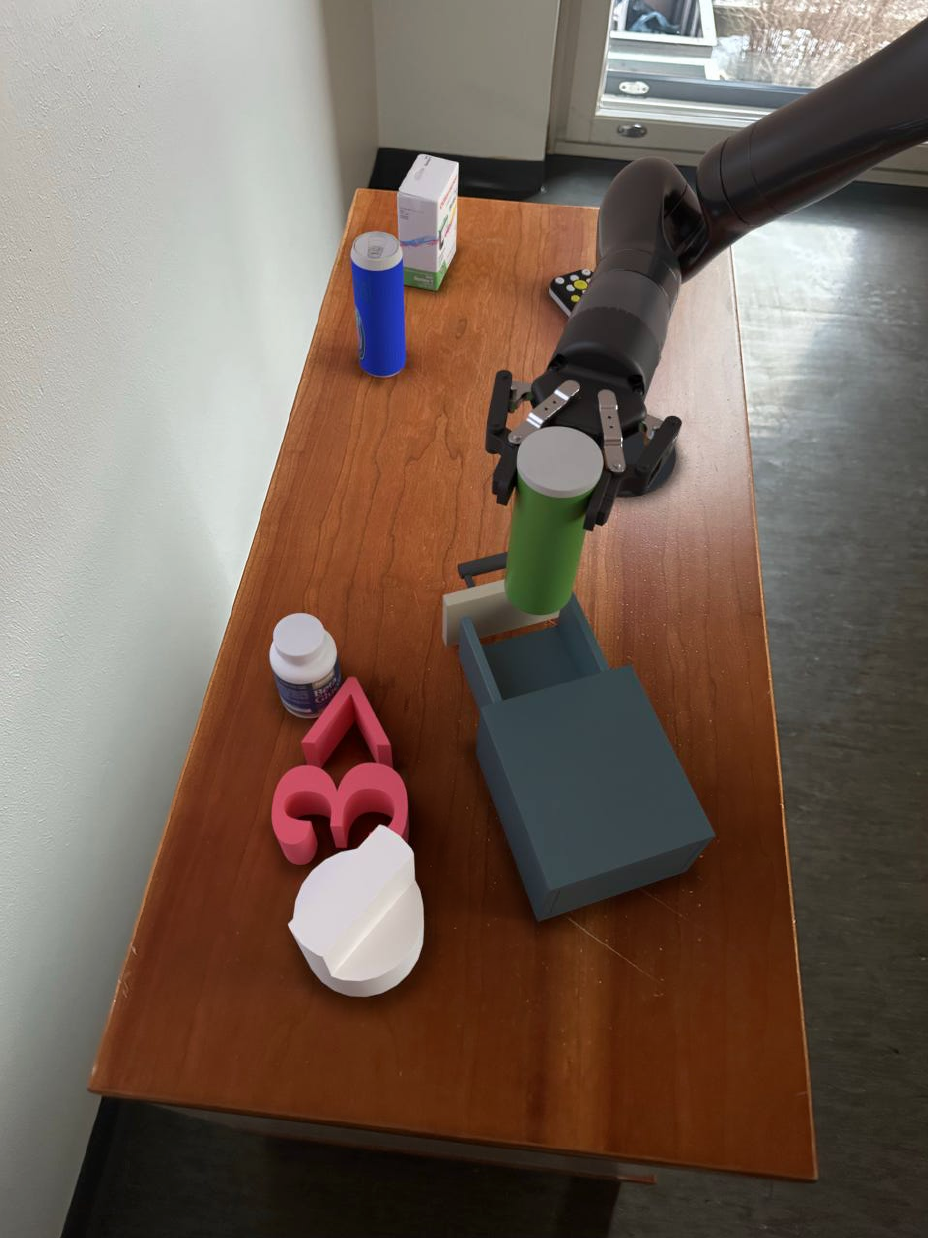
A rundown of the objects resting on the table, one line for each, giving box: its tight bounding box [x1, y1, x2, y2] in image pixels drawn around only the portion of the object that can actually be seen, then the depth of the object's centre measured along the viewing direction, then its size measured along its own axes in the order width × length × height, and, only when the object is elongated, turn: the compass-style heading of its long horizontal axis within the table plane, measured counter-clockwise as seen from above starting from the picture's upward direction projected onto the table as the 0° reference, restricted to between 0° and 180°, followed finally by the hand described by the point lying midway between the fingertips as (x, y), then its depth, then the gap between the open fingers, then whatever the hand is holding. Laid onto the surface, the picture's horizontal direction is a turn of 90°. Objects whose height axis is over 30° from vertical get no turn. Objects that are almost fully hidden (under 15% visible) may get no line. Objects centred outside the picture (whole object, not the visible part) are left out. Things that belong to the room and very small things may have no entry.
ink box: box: [396, 153, 460, 292], centre depth 104 cm, size 8×5×12 cm, turn 164°
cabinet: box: [475, 663, 716, 923], centre depth 69 cm, size 15×13×9 cm
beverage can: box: [350, 230, 407, 379], centre depth 94 cm, size 5×5×15 cm
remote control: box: [548, 268, 594, 318], centre depth 105 cm, size 6×13×2 cm, turn 28°
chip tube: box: [504, 427, 603, 615], centre depth 64 cm, size 6×6×15 cm
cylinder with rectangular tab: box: [287, 824, 425, 998], centre depth 62 cm, size 9×9×12 cm
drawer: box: [441, 551, 612, 713], centre depth 76 cm, size 18×11×7 cm, turn 18°
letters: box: [271, 676, 410, 866], centre depth 71 cm, size 14×10×5 cm
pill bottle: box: [269, 612, 343, 719], centre depth 74 cm, size 5×5×10 cm
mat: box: [616, 432, 677, 498], centre depth 94 cm, size 12×12×1 cm
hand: (545, 509), depth 59 cm, fingers closed on chip tube, 5 cm apart
